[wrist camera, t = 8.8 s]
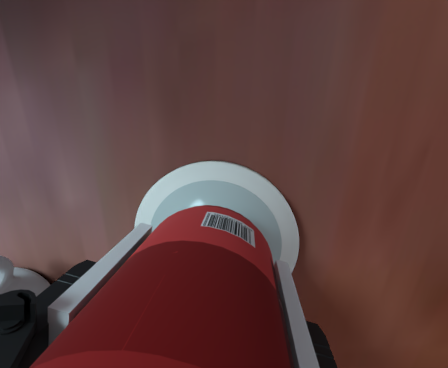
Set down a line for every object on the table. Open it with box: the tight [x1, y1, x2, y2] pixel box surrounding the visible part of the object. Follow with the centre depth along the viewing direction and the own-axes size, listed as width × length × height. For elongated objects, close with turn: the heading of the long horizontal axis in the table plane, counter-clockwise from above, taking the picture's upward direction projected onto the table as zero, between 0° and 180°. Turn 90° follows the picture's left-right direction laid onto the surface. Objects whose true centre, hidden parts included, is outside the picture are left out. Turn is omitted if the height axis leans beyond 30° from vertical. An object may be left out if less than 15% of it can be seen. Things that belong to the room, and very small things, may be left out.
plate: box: [135, 160, 299, 273], centre depth 16 cm, size 12×12×1 cm
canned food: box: [29, 205, 295, 368], centre depth 9 cm, size 8×8×11 cm
